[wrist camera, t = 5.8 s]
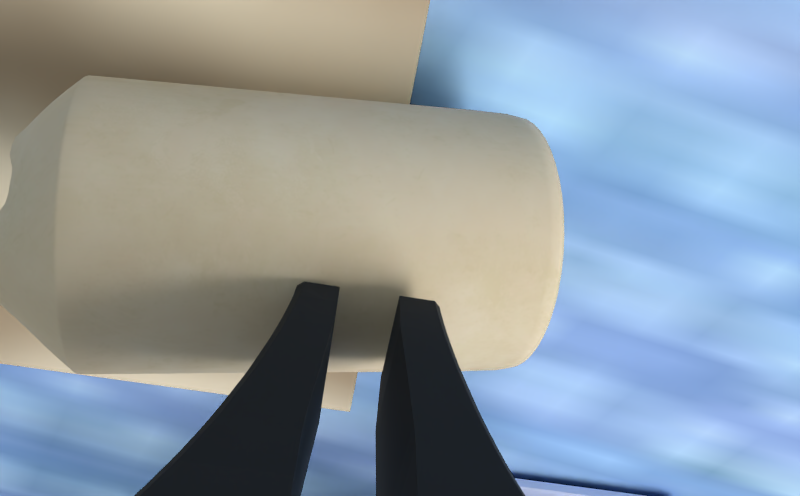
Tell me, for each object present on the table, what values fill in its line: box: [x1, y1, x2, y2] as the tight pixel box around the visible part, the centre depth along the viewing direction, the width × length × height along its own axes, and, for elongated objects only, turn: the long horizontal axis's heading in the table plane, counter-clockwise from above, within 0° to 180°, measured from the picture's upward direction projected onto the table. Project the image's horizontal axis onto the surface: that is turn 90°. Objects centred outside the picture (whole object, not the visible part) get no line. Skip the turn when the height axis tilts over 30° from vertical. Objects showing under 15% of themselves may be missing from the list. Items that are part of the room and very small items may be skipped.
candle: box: [0, 75, 564, 374], centre depth 14 cm, size 6×6×10 cm
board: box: [0, 0, 430, 412], centre depth 17 cm, size 18×14×1 cm
